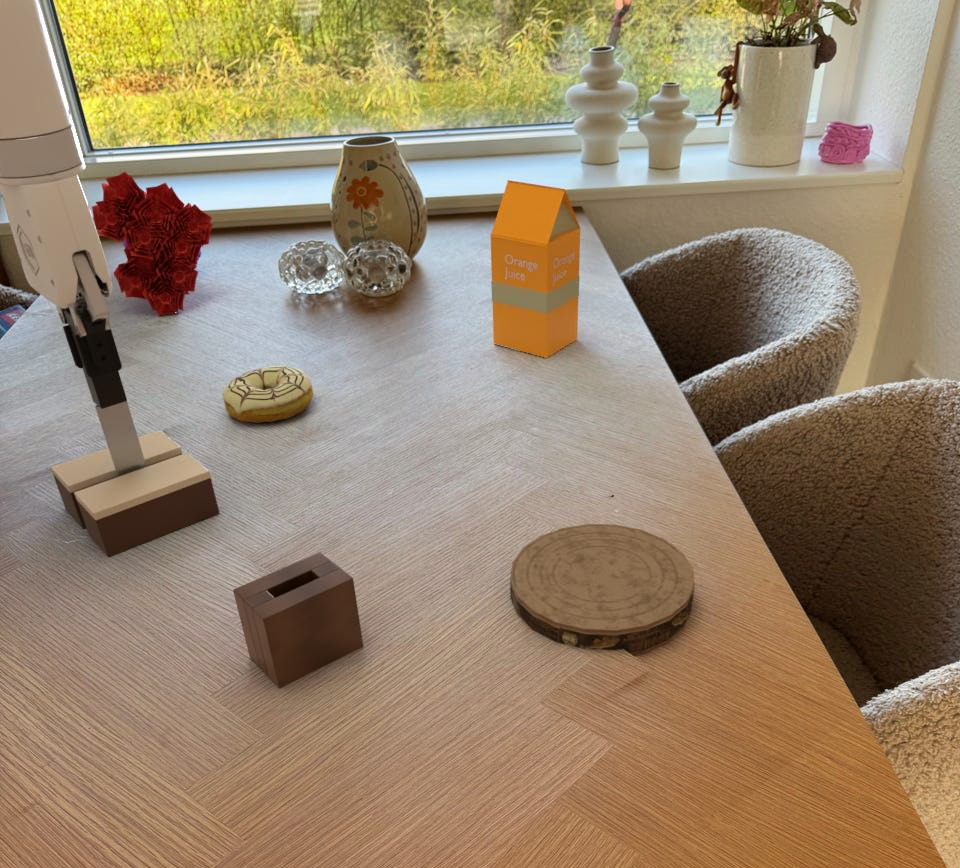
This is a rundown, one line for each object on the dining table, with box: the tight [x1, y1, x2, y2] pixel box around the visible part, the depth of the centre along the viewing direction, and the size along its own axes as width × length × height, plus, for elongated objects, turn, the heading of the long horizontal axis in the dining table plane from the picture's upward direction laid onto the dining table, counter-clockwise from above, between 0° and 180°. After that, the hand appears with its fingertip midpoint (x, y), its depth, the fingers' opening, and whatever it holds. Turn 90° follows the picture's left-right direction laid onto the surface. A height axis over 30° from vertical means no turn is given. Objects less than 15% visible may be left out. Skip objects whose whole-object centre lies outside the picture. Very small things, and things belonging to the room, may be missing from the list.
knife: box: [64, 306, 147, 477], centre depth 92 cm, size 3×2×18 cm
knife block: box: [232, 551, 364, 689], centre depth 77 cm, size 8×5×8 cm, turn 128°
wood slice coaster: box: [509, 523, 696, 656], centre depth 84 cm, size 16×16×3 cm
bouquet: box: [91, 171, 214, 316], centre depth 151 cm, size 20×16×30 cm
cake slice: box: [74, 452, 220, 557], centre depth 96 cm, size 12×5×5 cm, turn 128°
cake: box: [50, 430, 183, 529], centre depth 100 cm, size 12×5×5 cm, turn 128°
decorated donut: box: [222, 365, 314, 424], centre depth 116 cm, size 10×11×4 cm
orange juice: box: [490, 179, 581, 359], centre depth 124 cm, size 8×9×20 cm
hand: (99, 366), depth 90 cm, fingers closed on knife, 2 cm apart
